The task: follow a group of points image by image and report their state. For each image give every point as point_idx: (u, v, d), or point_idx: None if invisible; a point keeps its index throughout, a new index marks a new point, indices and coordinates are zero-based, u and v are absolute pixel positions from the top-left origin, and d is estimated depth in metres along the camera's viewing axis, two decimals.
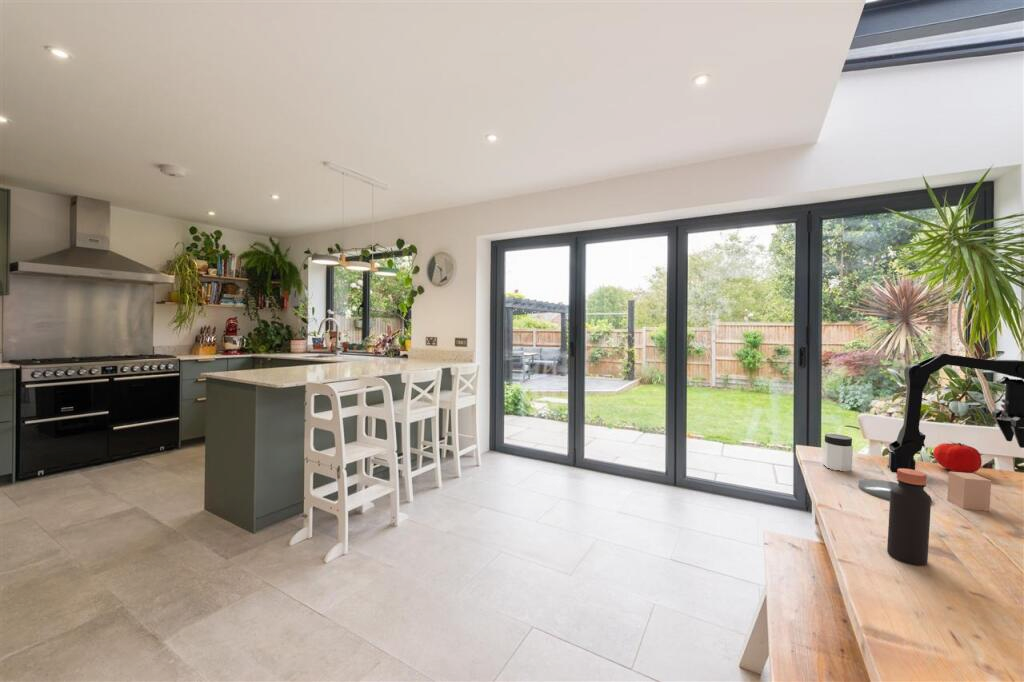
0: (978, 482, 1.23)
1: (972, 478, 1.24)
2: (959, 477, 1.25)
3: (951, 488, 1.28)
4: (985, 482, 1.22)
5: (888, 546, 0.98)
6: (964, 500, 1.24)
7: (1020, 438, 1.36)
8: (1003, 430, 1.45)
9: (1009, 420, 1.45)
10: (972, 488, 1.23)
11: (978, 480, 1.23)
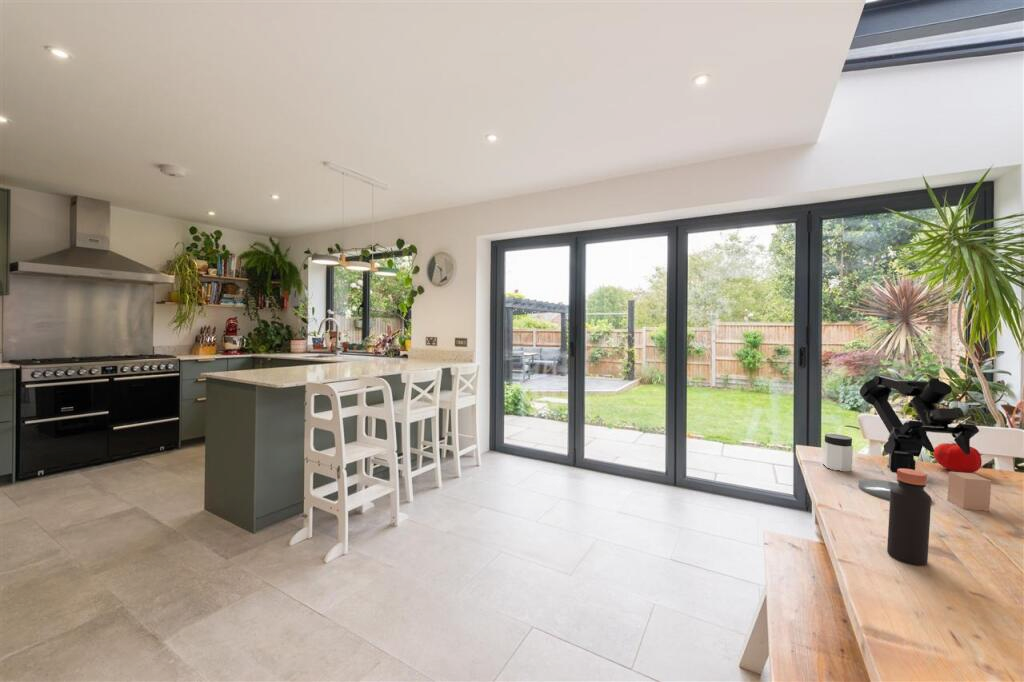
0: (978, 482, 1.23)
1: (972, 478, 1.24)
2: (959, 477, 1.25)
3: (951, 488, 1.28)
4: (985, 482, 1.22)
5: (888, 546, 0.98)
6: (964, 500, 1.24)
7: (922, 444, 1.37)
8: (960, 446, 1.35)
9: (960, 435, 1.36)
10: (972, 488, 1.23)
11: (978, 480, 1.23)
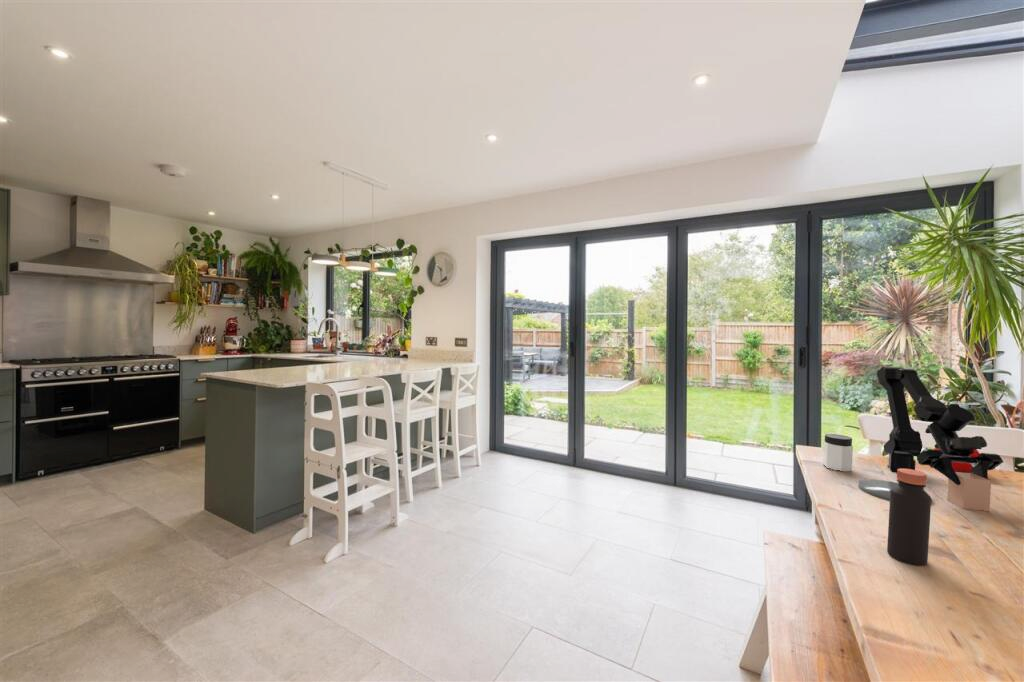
0: (978, 482, 1.23)
1: (972, 478, 1.24)
2: (959, 477, 1.25)
3: (951, 488, 1.28)
4: (985, 482, 1.22)
5: (888, 546, 0.98)
6: (964, 500, 1.24)
7: (947, 475, 1.28)
8: None
9: (977, 465, 1.28)
10: (972, 488, 1.23)
11: (978, 480, 1.23)
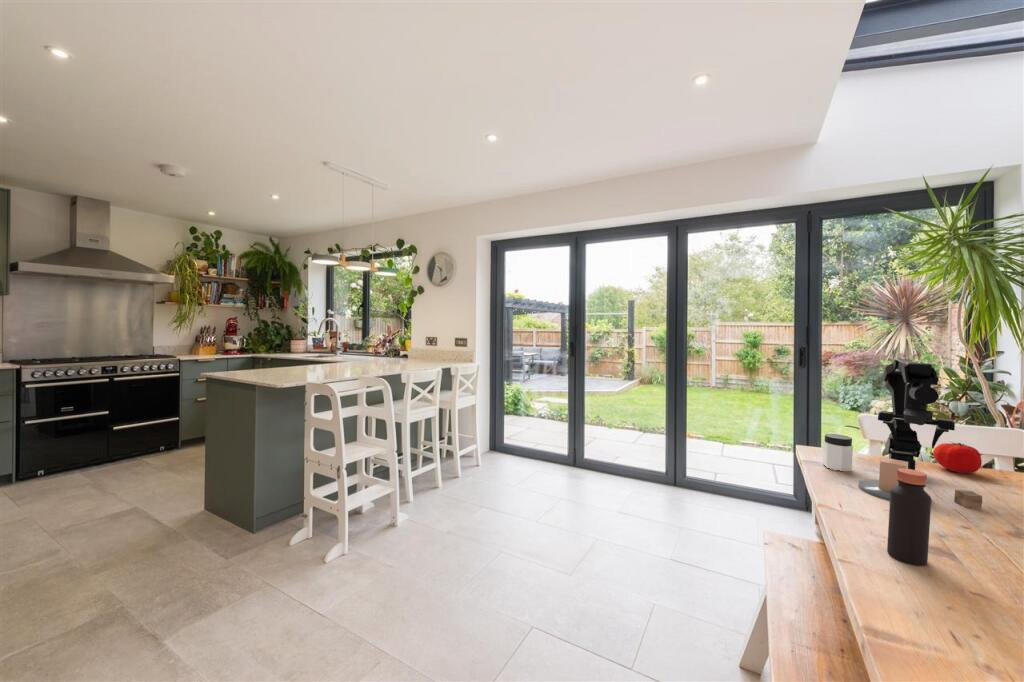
0: (893, 466, 1.32)
1: (890, 462, 1.33)
2: (880, 461, 1.36)
3: None
4: (900, 467, 1.31)
5: (888, 546, 0.98)
6: (880, 481, 1.35)
7: None
8: None
9: (937, 428, 1.39)
10: (888, 471, 1.33)
11: (893, 464, 1.32)
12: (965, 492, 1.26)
